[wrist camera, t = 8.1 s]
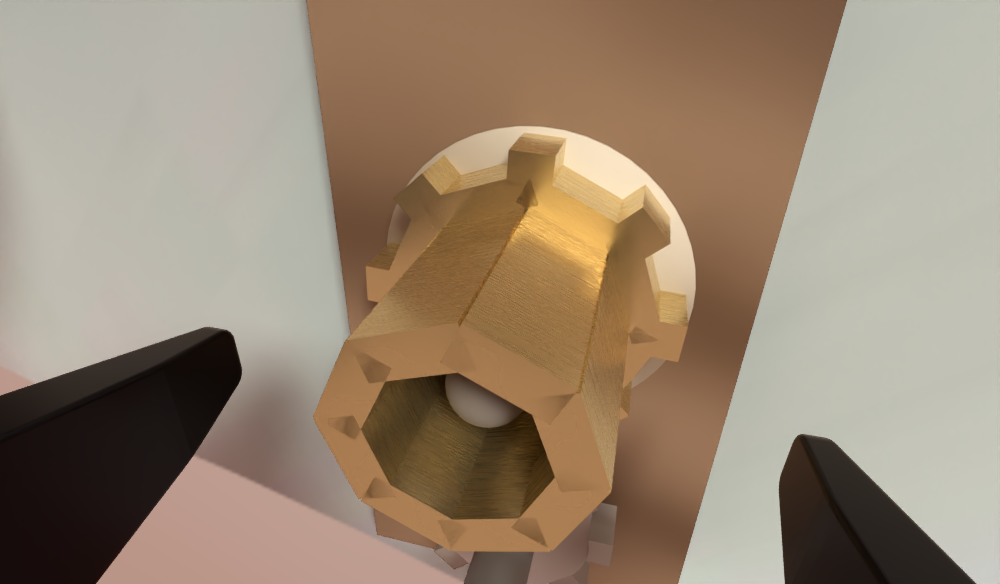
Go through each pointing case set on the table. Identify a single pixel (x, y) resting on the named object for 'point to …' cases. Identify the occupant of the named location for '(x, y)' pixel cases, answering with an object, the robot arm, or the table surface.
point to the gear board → (613, 166)
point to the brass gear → (502, 350)
